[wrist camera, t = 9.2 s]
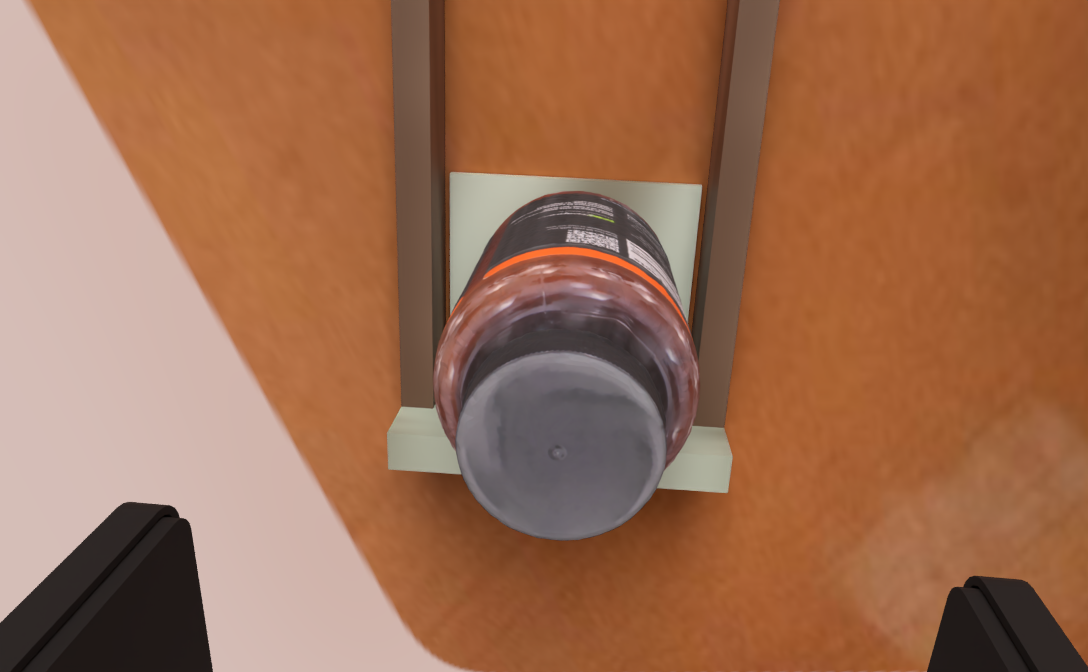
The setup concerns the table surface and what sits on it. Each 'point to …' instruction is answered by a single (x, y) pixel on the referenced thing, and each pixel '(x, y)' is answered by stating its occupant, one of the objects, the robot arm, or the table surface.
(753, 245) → the table surface
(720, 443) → the guide rail
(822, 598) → the table surface
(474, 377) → the supplement bottle
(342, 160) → the table surface
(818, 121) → the table surface
